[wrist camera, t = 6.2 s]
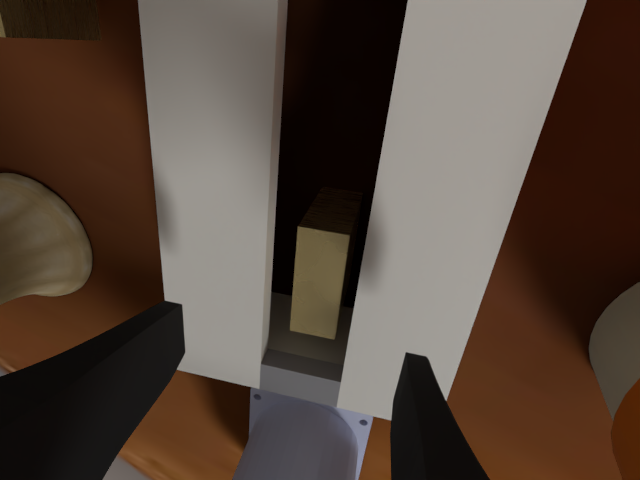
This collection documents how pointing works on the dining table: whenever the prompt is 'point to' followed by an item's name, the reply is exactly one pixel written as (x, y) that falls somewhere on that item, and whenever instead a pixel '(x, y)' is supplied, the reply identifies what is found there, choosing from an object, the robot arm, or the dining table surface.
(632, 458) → the reusable coffee cup
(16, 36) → the block
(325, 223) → the block
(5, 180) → the hand bell
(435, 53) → the box
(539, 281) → the dining table surface
